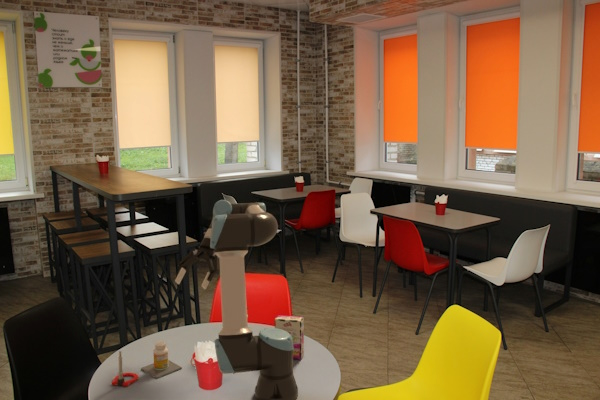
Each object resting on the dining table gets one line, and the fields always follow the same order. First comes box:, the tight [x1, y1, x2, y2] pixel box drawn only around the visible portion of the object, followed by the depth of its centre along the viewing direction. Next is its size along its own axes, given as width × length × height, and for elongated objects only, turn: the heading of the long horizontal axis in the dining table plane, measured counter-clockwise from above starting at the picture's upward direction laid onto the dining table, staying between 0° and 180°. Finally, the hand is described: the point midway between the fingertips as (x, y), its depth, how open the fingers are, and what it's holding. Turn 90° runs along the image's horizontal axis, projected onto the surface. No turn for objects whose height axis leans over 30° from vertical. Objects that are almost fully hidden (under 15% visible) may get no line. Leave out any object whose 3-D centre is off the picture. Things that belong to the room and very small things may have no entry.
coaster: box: [140, 359, 183, 380], centre depth 210 cm, size 11×11×1 cm
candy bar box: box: [274, 314, 305, 361], centre depth 220 cm, size 11×5×16 cm, turn 76°
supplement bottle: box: [153, 341, 169, 370], centre depth 210 cm, size 5×5×10 cm
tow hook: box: [111, 350, 139, 387], centre depth 201 cm, size 8×13×9 cm
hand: (189, 285), depth 222 cm, fingers open, 13 cm apart
